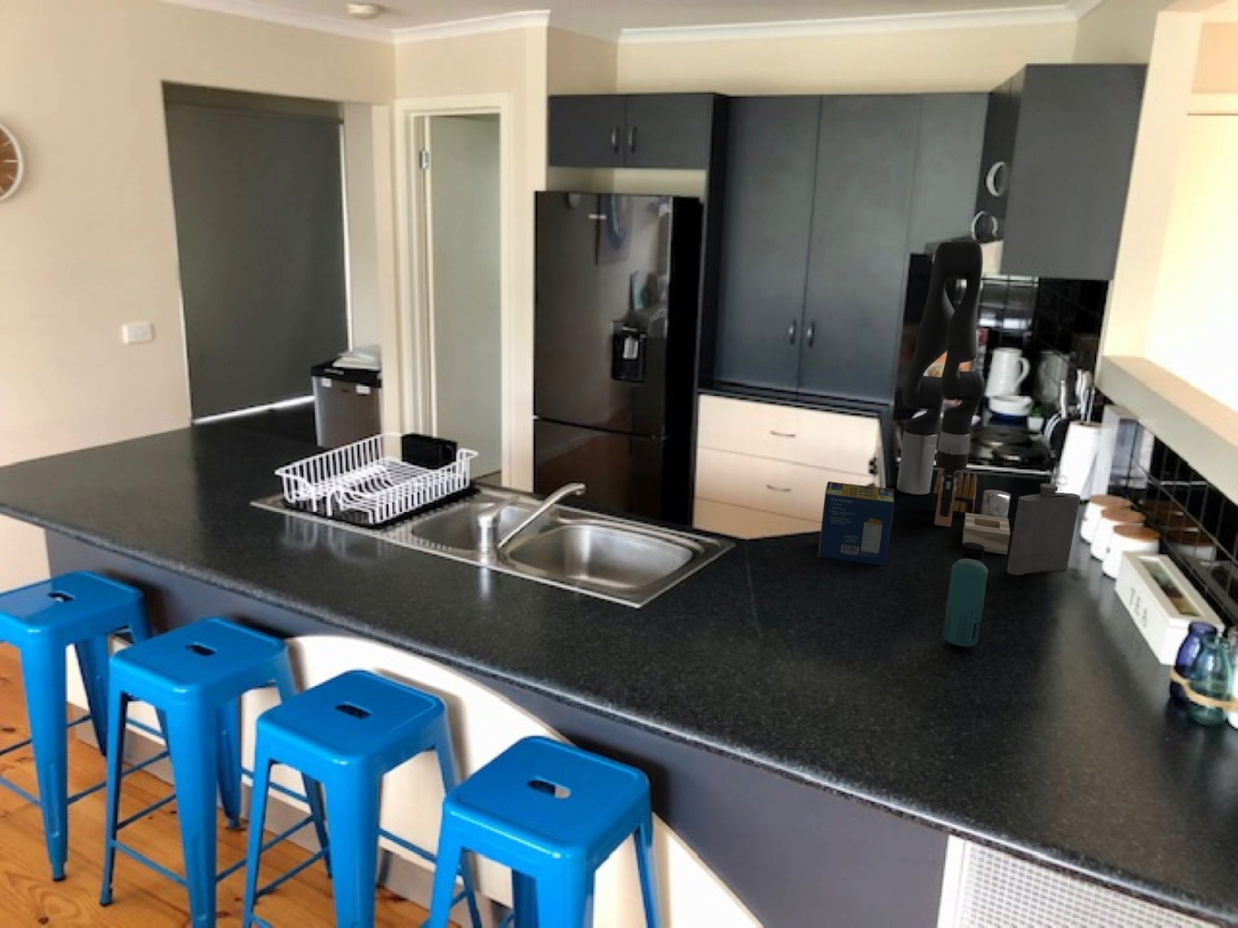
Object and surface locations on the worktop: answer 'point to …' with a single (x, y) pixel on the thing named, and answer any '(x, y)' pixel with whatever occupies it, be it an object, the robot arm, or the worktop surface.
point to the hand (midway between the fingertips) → (944, 513)
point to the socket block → (987, 532)
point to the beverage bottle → (966, 597)
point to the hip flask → (1043, 531)
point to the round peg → (995, 503)
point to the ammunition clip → (958, 495)
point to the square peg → (947, 520)
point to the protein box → (856, 523)
